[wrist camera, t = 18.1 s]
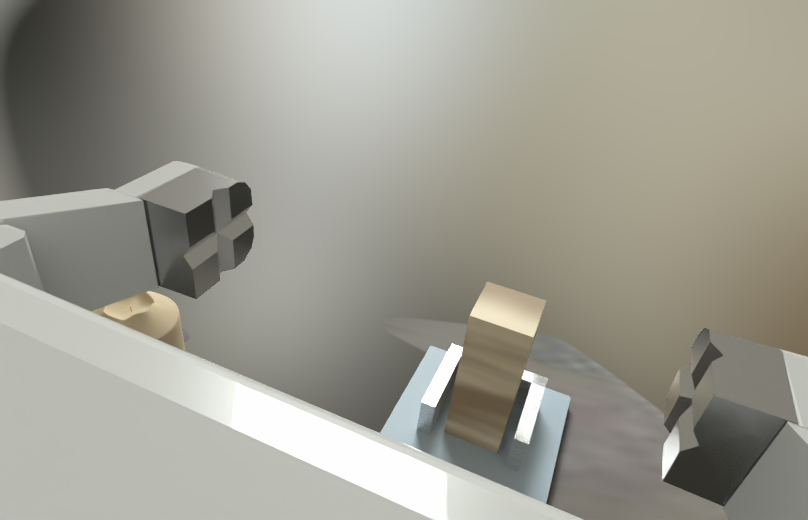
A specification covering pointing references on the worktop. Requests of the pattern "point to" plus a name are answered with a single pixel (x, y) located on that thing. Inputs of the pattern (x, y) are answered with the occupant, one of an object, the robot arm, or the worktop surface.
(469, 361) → the beech post
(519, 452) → the slot bracket
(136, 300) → the candle
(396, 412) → the base plate
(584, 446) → the worktop surface
